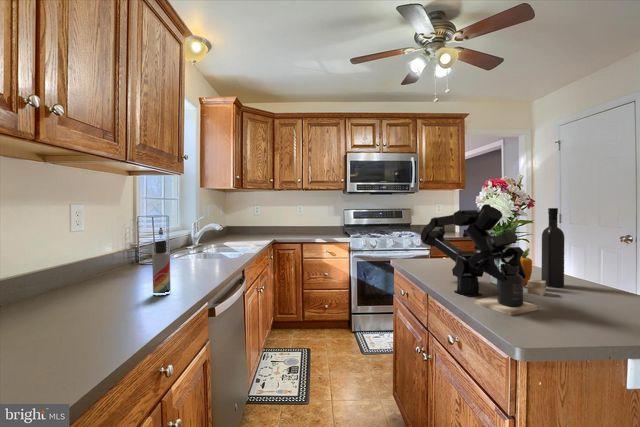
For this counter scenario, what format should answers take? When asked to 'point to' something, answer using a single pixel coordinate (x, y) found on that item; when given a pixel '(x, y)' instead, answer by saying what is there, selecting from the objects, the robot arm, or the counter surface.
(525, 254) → the carrot
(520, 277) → the supplement bottle
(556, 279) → the wine bottle
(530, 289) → the oak block
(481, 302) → the maple board
